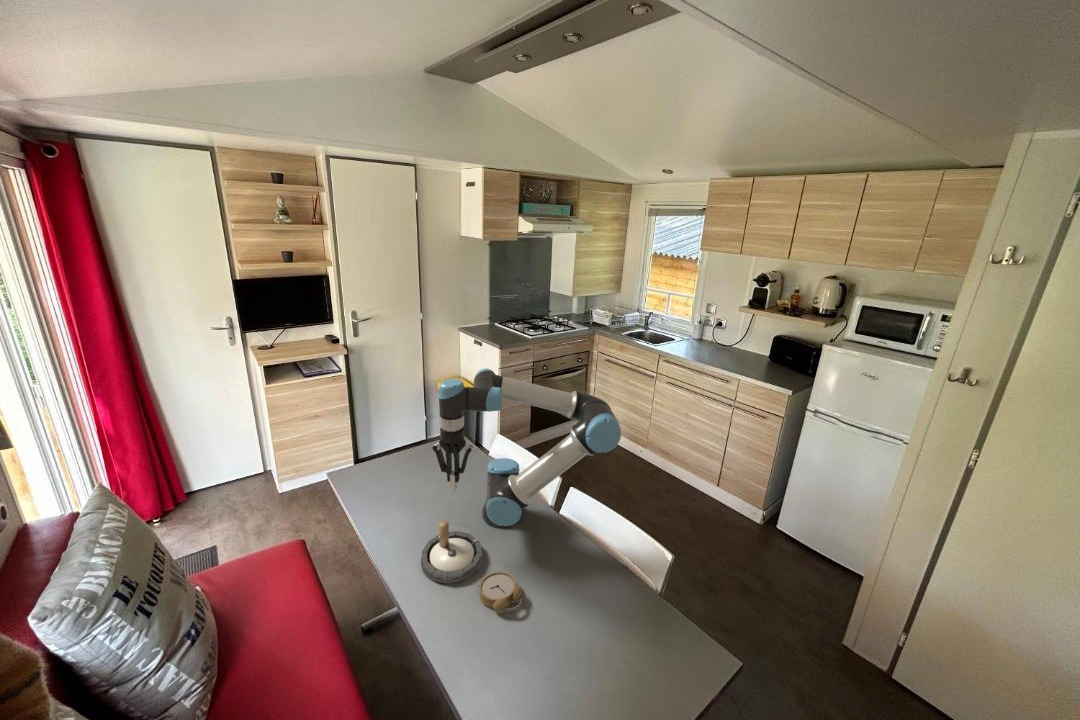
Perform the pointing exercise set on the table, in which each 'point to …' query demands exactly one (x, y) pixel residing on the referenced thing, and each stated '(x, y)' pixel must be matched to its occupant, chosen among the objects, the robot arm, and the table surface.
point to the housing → (451, 576)
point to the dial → (450, 551)
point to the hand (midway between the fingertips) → (453, 489)
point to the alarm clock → (500, 592)
